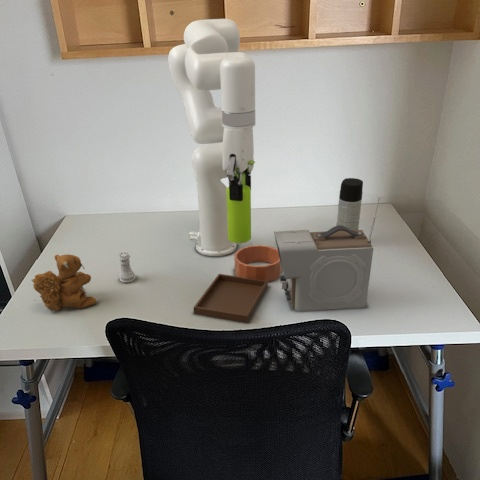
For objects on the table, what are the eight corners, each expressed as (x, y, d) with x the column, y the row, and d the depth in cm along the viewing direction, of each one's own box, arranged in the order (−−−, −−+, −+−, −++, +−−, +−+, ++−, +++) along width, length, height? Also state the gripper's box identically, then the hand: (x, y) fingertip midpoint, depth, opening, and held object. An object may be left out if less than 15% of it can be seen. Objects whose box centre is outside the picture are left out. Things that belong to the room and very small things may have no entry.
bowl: (228, 279, 150) (228, 263, 147) (243, 258, 161) (243, 242, 158) (274, 285, 146) (275, 269, 144) (286, 263, 157) (287, 248, 154)
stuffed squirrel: (100, 303, 141) (91, 258, 133) (46, 320, 134) (34, 274, 127) (87, 287, 148) (78, 244, 140) (35, 303, 141) (23, 258, 134)
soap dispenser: (253, 244, 134) (252, 164, 123) (226, 242, 135) (223, 163, 124) (256, 234, 139) (256, 156, 128) (230, 233, 140) (228, 156, 129)
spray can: (359, 241, 169) (366, 179, 158) (353, 249, 164) (360, 186, 153) (338, 237, 171) (344, 176, 160) (332, 246, 166) (337, 183, 155)
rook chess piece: (122, 284, 149) (118, 259, 144) (117, 278, 152) (113, 252, 147) (137, 280, 150) (134, 255, 146) (132, 274, 154) (128, 249, 149)
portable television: (272, 291, 144) (274, 182, 127) (359, 286, 145) (372, 178, 129) (278, 315, 134) (281, 201, 117) (371, 310, 135) (387, 196, 119)
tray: (194, 313, 136) (193, 307, 134) (219, 279, 150) (218, 273, 149) (247, 322, 132) (247, 316, 130) (267, 287, 146) (267, 280, 145)
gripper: (234, 109, 128) (236, 183, 138) (209, 126, 115) (214, 206, 125) (264, 110, 126) (264, 185, 136) (243, 128, 113) (244, 209, 123)
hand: (240, 194), depth 130 cm, fingers closed on soap dispenser, 5 cm apart
